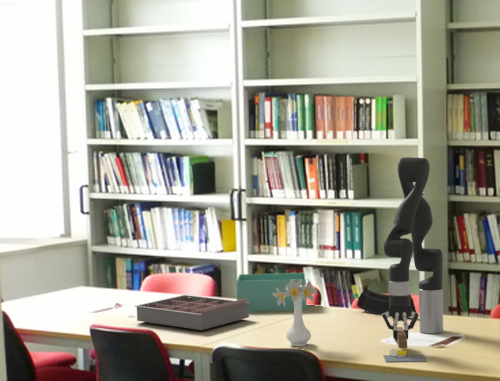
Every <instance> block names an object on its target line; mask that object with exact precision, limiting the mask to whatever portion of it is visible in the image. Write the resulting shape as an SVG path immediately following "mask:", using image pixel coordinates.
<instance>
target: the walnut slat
mask: <svg viewBox="0 0 500 381" xmlns="http://www.w3.org/2000/svg"><path fill="white" fill-rule="evenodd" d="M395 342H396V345H397V347H398V349H408V339H407V335H406V333H405V332H404V327H402V326H399V327H398V326H397V341H395Z"/></svg>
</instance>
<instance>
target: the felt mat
mask: <svg viewBox="0 0 500 381" xmlns="http://www.w3.org/2000/svg"><path fill="white" fill-rule="evenodd" d="M383 358H384V360H385V363H418V362H420V363H421V362H422V363H423V362H424V363H426V362H427V363H428V359H426V356H425V355H424V354H423V353H422V354H407V355H397V356H395V357H393V356H392V355H391V354H384V355H383Z"/></svg>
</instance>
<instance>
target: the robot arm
mask: <svg viewBox="0 0 500 381" xmlns="http://www.w3.org/2000/svg"><path fill="white" fill-rule="evenodd" d="M430 167H431V166H430V162H429V160H428V159H427V158H426V157H410V156H409V157H407V156H406V157H401V158H400V159H399V160H398V162H397V174H398V178H399V184H400V186H401V191H402V193H403V198H404V199H403V200H402V201H401V203H400V204H399V205H398V207H397V209H396V212H395V215H394V221H393V225H392V226H391V229H390V232H389V233H388V235H387V237H386V239H385V240H384V244H383V252H384V254H385V255H386V257H388V258H400V260H399V263H393V264H390V266H389V271H388V272H389V274H388V275H389V279H388V280H389V283H388V295H389V310H388V312H386V313H382V315H381V317H382V318H383V321H384V323H385V324H386V326H387V328H388V329H389V330H392V338H393V339H394V340H395V342H396V341H397V327H398V324H399V322H402V323H403V330H404V332H405V333H406V335H407V340H408V339H409V330H412V329H414V328H415V327H414V326H415V325H416V324H417V320H418V318H419V332H420V333H422V334H431V335H432V334H434V335H435V334H441V333H443V332H444V303H443V302H444V300H443V298H444V296H443V293H444V292H443V267H444V266H443V265H444V256H443V255H444V254H443V251H442V250H441V248H428V247H427V248H424V247H423V242H424V240H425V237H427V235H428V234H429V232H430V230H431V228H432V226H433V214H432V209H431V207H430V204H429V203H428V202H427V200H426V199H425V198H424V197H423V193H424V191H425V188H426V185H427V182H428V180H429V176H430V172H431V170H430ZM407 235H410V236H411V239H410V238H405V237H403V236H407ZM401 237H402V238H401ZM412 256H413V257H412ZM412 258H413V262H414V267H415V269H416V270H417V271H419V272H430V273H432V275H431V276H430V277H428V278H426V279H423V280H420V281H419V282H418V305H419V306H418V307H419V310H418V311H419V313H418V312H417V311H416V312H413V311H412V309H411V307H410V295H411V285H410V265H411V263H412V262H411V261H412ZM389 314H390V315H391V316H388V315H389ZM411 314H412V317H411V320H410V323H408V319H409V318H410V317H409V316H410V315H411ZM390 317H391V318H392V324H391V323H390V320H388V319H389V318H390Z"/></svg>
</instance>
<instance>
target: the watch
mask: <svg viewBox="0 0 500 381" xmlns="http://www.w3.org/2000/svg"><path fill="white" fill-rule="evenodd" d="M388 355H392V356H393V357H395V356H397V355H408V354H407V350H402V349H401V350H400V349H397V348H391V349H389V354H388Z"/></svg>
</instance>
